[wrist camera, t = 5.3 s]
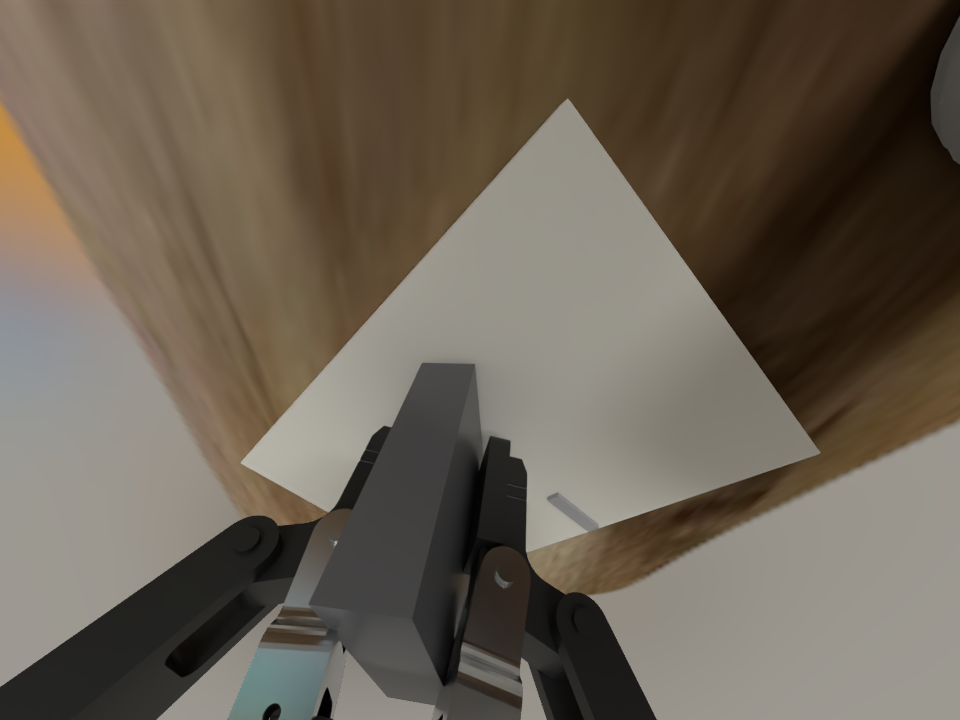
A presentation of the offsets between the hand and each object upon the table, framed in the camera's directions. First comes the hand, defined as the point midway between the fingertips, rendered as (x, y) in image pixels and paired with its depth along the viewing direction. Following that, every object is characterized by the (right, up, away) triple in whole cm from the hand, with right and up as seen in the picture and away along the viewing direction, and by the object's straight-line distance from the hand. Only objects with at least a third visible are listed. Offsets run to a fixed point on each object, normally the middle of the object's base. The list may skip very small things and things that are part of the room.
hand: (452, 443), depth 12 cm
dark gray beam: (0, -2, +2) cm, 3 cm away
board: (+1, 0, +4) cm, 4 cm away
